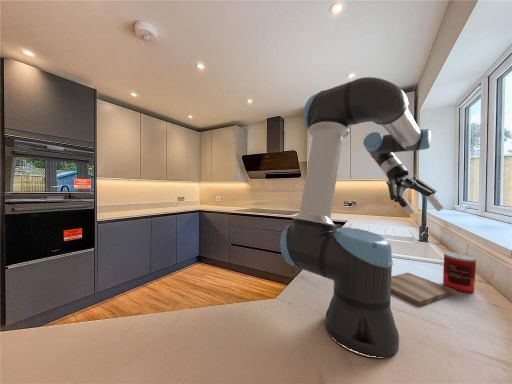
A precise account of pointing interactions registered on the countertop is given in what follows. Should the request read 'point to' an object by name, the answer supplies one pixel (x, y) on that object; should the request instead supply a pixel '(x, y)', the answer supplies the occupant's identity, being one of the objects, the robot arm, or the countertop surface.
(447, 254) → the canned food
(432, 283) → the walnut board
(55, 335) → the countertop surface
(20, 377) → the countertop surface
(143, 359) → the countertop surface
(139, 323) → the countertop surface
